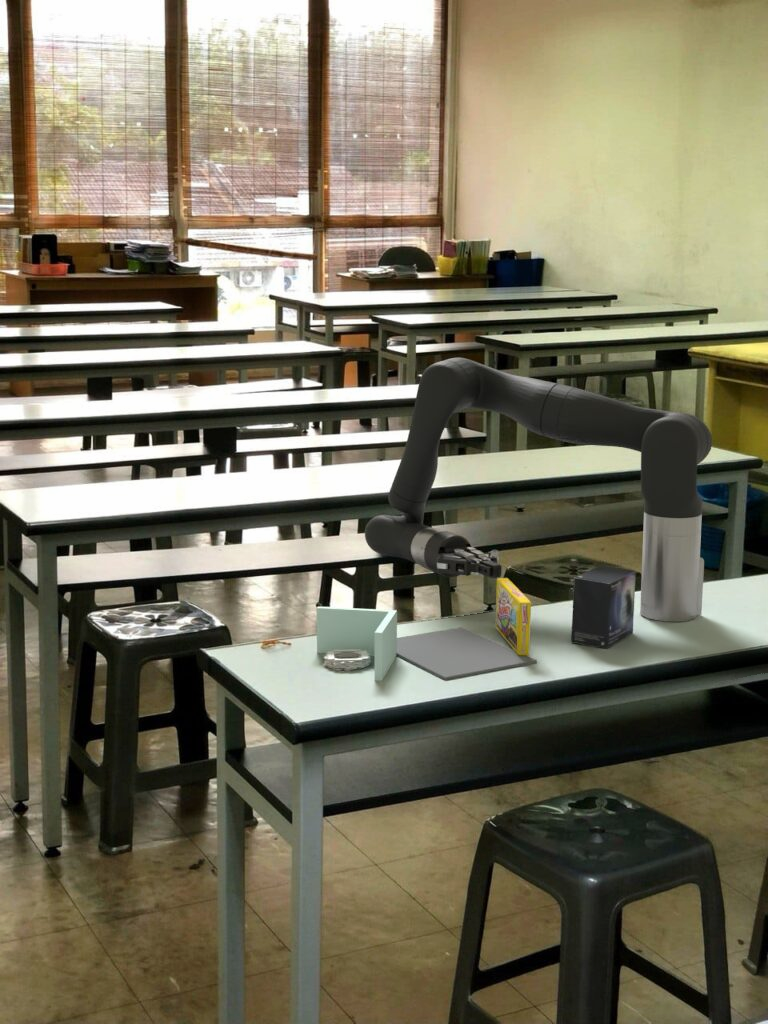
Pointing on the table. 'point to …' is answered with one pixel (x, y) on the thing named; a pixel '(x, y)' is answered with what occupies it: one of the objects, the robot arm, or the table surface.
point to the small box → (603, 606)
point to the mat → (457, 653)
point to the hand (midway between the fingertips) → (497, 571)
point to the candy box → (513, 616)
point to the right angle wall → (357, 638)
